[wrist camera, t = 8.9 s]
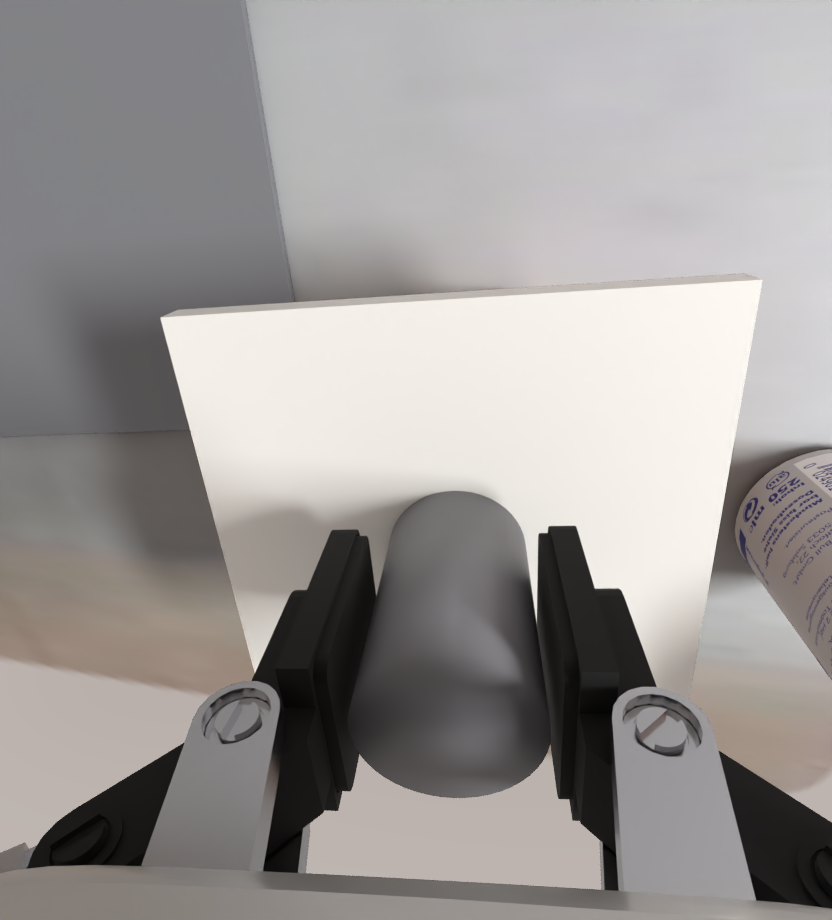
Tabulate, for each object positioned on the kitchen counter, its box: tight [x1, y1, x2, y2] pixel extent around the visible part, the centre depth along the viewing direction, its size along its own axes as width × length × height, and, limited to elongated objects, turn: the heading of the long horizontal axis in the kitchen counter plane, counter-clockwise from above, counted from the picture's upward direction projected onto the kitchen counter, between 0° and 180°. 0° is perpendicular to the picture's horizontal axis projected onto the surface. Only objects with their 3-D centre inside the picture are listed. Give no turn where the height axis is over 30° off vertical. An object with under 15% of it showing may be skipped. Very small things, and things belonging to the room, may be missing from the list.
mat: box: [0, 0, 295, 437], centre depth 18 cm, size 13×13×1 cm
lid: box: [160, 273, 762, 798], centre depth 12 cm, size 12×12×6 cm
